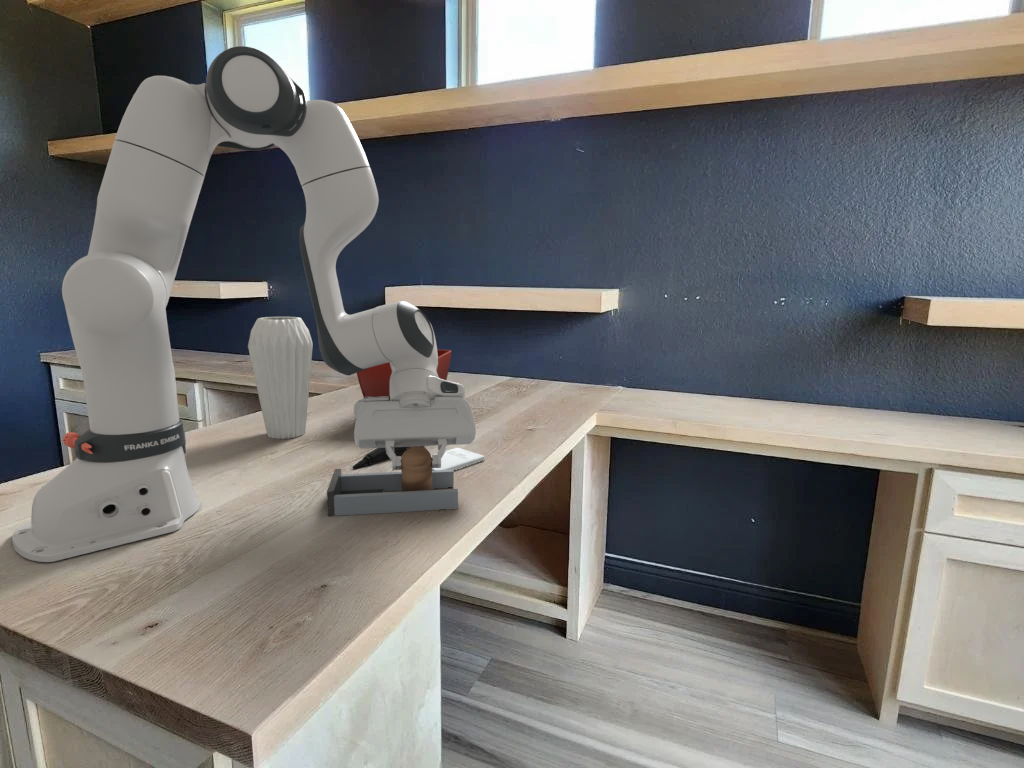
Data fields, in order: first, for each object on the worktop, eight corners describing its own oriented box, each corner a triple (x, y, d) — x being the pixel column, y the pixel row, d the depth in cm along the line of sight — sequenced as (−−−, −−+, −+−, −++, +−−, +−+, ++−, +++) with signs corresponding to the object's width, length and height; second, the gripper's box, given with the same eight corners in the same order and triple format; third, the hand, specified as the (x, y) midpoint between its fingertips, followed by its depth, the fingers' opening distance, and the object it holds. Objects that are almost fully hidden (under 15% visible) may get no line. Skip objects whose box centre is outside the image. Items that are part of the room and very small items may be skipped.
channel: (328, 516, 87) (326, 491, 86) (335, 491, 97) (334, 469, 96) (458, 508, 91) (458, 485, 90) (453, 485, 100) (453, 464, 99)
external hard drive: (409, 468, 110) (456, 453, 119) (438, 479, 105) (484, 462, 114) (409, 460, 110) (456, 446, 119) (438, 471, 104) (484, 455, 114)
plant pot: (430, 431, 133) (429, 361, 130) (354, 426, 136) (351, 357, 133) (452, 412, 152) (452, 349, 148) (385, 407, 155) (383, 346, 151)
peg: (416, 501, 91) (415, 453, 89) (395, 493, 94) (394, 447, 92) (438, 491, 95) (438, 446, 93) (417, 484, 98) (417, 440, 96)
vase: (312, 423, 138) (306, 315, 132) (322, 438, 126) (316, 320, 121) (252, 429, 132) (244, 316, 126) (256, 445, 120) (247, 321, 115)
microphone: (362, 486, 108) (431, 447, 123) (365, 462, 105) (435, 425, 121) (342, 472, 110) (412, 436, 126) (344, 448, 107) (416, 414, 123)
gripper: (352, 387, 96) (349, 462, 88) (473, 385, 99) (479, 456, 92) (355, 407, 101) (353, 478, 93) (470, 404, 105) (476, 472, 97)
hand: (417, 467), depth 93 cm, fingers closed on peg, 5 cm apart
